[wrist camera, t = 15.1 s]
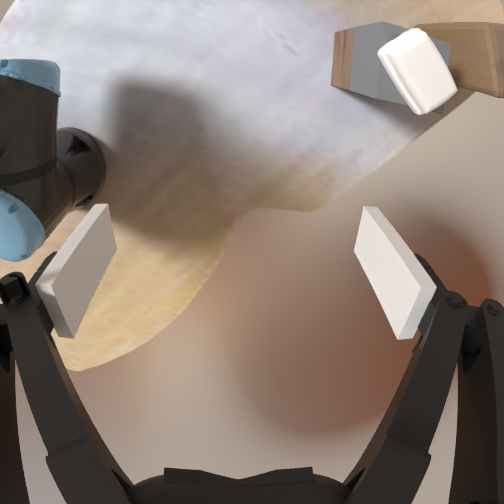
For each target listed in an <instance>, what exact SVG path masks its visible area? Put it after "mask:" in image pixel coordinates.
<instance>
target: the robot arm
mask: <svg viewBox="0 0 504 504" xmlns="http://www.w3.org/2000/svg"><path fill="white" fill-rule="evenodd" d="M59 89H60V68H59V66H58V65H57V64H56V63H54V62H52V61H46V60H34V59H9V60H7V59H4V60H0V258H2V259H4V260H7V261H13V262H17V261H23V260H25V259H27V258H29V257H30V256H31V255H32V254H33V253H34V252H35V251H36V250H37V249H38V248H40V247H41V246H42V245H43V244H44V242H45V240H46V239H47V238H48V237H49V235H50V234H51V233H52V232H53V230H54V229H55V228H56V227H57V225H58V224H59V223H60V222H61V221H62V219H63V218H64V217H65V216H66V215H67V213H70V212H72V211H75V210H78V209H81V208H83V207H85V206H86V205H88V204H89V203H90V202H91V201H92V200H93V199H94V198H95V197H96V196H97V195H98V193H99V192H100V190H101V188H102V186H103V183H104V180H105V161H104V157H103V154H102V152H101V150H100V148H99V146H98V145H97V143H96V142H95V141H94V140H93V139H92V138H91V137H90V136H89V135H88V134H87V133H85V132H83V131H81V130H79V129H76V128H69V127H67V128H60V129H57V119H58V102H59V97H60V96H61V92H60V91H59ZM116 250H117V247H116V242H115V238H114V233H113V227H112V222H111V217H110V211H109V205H108V204H95V205H94V206H93V207H92V208H91V210H90V211H89V212H88V213H87V215H86V216H85V217H84V218H83V220H82V221H81V222H80V223H79V225H78V226H77V227H76V228H75V230H74V231H73V232H72V234H71V235H70V236H69V238H68V239H67V240H66V242H65V243H64V244H63V246H62V247H61V248H60V250H59V251H58V252H53V253H52V254H50V255H49V256H48V257H47V258H46V259H45V260H44V261H43V263H42V264H41V266H40V267H39V268H38V270H37V272H36V273H35V274H34V275H33V277H32V278H31V280H30V281H29V283H28V284H27V282H26V279H25V277H24V275H23V273H21V272H12V273H9V274H7V275H5V276H4V277H2V278H1V279H0V298H1V300H2V302H3V304H0V504H30V502H29V497H28V492H27V487H26V482H25V477H24V471H23V465H22V459H21V452H20V444H19V435H18V425H17V413H16V394H15V359H16V363H17V366H18V370H19V373H20V377H21V380H22V384H23V386H24V390H25V393H26V396H27V399H28V402H29V405H30V408H31V411H32V414H33V416H34V419H35V422H36V424H37V427H38V430H39V432H40V434H41V437H42V439H43V442H44V444H45V446H46V449H47V451H48V456H46V462H47V465H48V468H49V470H50V472H51V474H52V476H53V478H54V480H55V482H56V484H57V486H58V488H59V490H60V492H61V494H62V496H63V498H64V500H65V501H66V503H67V504H411V503H412V501H413V499H414V497H415V495H416V493H417V491H418V489H419V487H420V484H421V482H422V480H423V478H424V475H425V473H426V471H427V469H428V466H429V463H430V460H431V455H430V454H429V453H428V450H429V447H430V445H431V442H432V439H433V437H434V434H435V432H436V429H437V426H438V423H439V421H440V418H441V415H442V412H443V409H444V405H445V402H446V399H447V396H448V393H449V389H450V386H451V382H452V379H453V375H454V371H455V368H456V364H457V362H458V415H457V435H456V447H455V457H454V467H453V475H452V482H451V489H450V495H449V503H448V504H504V307H503V306H502V305H501V304H500V303H498V302H497V301H495V300H493V299H484V301H483V302H482V304H481V305H480V307H475V306H470V305H468V304H467V301H466V300H465V299H464V298H463V297H462V296H461V295H460V294H458V293H456V292H453V291H448V290H447V289H446V288H445V286H444V285H443V283H442V282H441V280H440V279H439V277H438V276H437V275H436V274H435V272H434V271H433V269H432V268H431V266H430V265H429V264H428V263H427V261H426V260H425V259H423V258H422V257H421V256H420V255H419V254H413V253H412V251H411V250H410V249H409V248H408V246H407V245H406V243H405V242H404V241H403V239H402V238H401V237H400V236H399V234H398V233H397V232H396V230H395V229H394V228H393V227H392V225H391V224H390V223H389V222H388V220H387V219H386V218H385V217H384V215H383V214H382V213H381V212H380V210H379V209H378V208H377V207H369V206H364V208H363V213H362V217H361V222H360V227H359V231H358V236H357V240H356V244H355V248H354V252H355V254H356V256H357V258H358V259H359V261H360V263H361V265H362V267H363V269H364V271H365V273H366V275H367V277H368V279H369V281H370V283H371V285H372V287H373V289H374V291H375V293H376V295H377V297H378V299H379V301H380V303H381V305H382V308H383V310H384V312H385V314H386V316H387V318H388V320H389V322H390V325H391V327H392V329H393V331H394V333H395V335H396V338H397V340H400V339H408V338H413V336H414V334H415V332H416V330H417V328H419V330H420V333H421V336H420V338H419V340H418V342H417V344H416V345H415V347H414V349H413V351H412V353H413V355H412V357H411V360H410V362H409V364H408V367H407V369H406V371H405V373H404V376H403V378H402V380H401V382H400V384H399V387H398V389H397V391H396V393H395V395H394V397H393V399H392V401H391V403H390V405H389V407H388V409H387V411H386V413H385V415H384V417H383V419H382V421H381V423H380V424H379V426H378V428H377V430H376V432H375V434H374V435H373V437H372V439H371V441H370V442H369V444H368V446H367V448H366V449H365V451H364V453H363V454H362V456H361V458H360V459H359V461H358V463H357V464H356V466H355V467H354V469H353V470H352V471H351V473H350V474H349V475H348V477H347V478H346V479H345V481H344V482H343V483H341V482H339V481H336V480H334V479H332V478H329V477H326V476H321V475H317V474H313V470H312V467H306V468H305V467H304V468H294V469H280V470H274V471H270V472H267V473H263V474H259V475H256V476H252V477H248V478H244V479H233V478H229V477H225V476H220V475H216V474H213V473H209V472H205V471H201V470H189V469H175V468H164V475H159V476H155V477H151V478H149V479H146V480H143V481H141V482H139V483H137V484H136V485H133V483H132V482H131V481H130V480H129V478H128V477H127V476H126V474H125V473H124V472H123V471H122V469H121V468H120V466H119V465H118V464H117V462H116V460H115V459H114V457H113V456H112V454H111V453H110V451H109V449H108V448H107V446H106V445H105V443H104V441H103V440H102V438H101V436H100V434H99V433H98V431H97V429H96V428H95V426H94V424H93V422H92V420H91V419H90V417H89V415H88V413H87V411H86V409H85V407H84V405H83V404H82V402H81V400H80V398H79V396H78V394H77V392H76V390H75V388H74V386H73V383H72V381H71V379H70V377H69V375H68V373H67V371H66V368H65V366H64V364H63V361H62V359H61V357H60V354H59V352H58V350H57V347H56V345H55V342H54V340H53V338H52V336H51V332H52V330H53V328H55V330H56V332H57V334H58V336H59V337H65V338H73V339H74V337H75V335H76V332H77V330H78V328H79V326H80V323H81V321H82V319H83V317H84V314H85V312H86V310H87V308H88V306H89V304H90V301H91V299H92V297H93V295H94V293H95V291H96V289H97V287H98V285H99V283H100V281H101V279H102V277H103V275H104V273H105V271H106V269H107V267H108V265H109V263H110V261H111V259H112V257H113V255H114V253H115V251H116Z"/></svg>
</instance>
